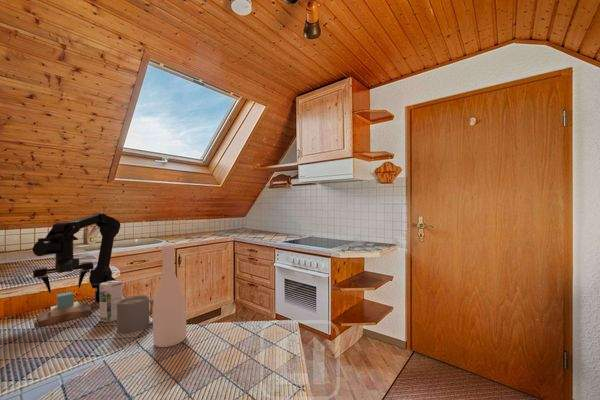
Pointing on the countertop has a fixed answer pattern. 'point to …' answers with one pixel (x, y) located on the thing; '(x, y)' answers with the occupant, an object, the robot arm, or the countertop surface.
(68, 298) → the teal cube
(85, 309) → the stacking base
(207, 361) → the countertop surface
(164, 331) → the wine bottle
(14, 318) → the countertop surface
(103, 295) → the syrup box
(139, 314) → the coffee mug
